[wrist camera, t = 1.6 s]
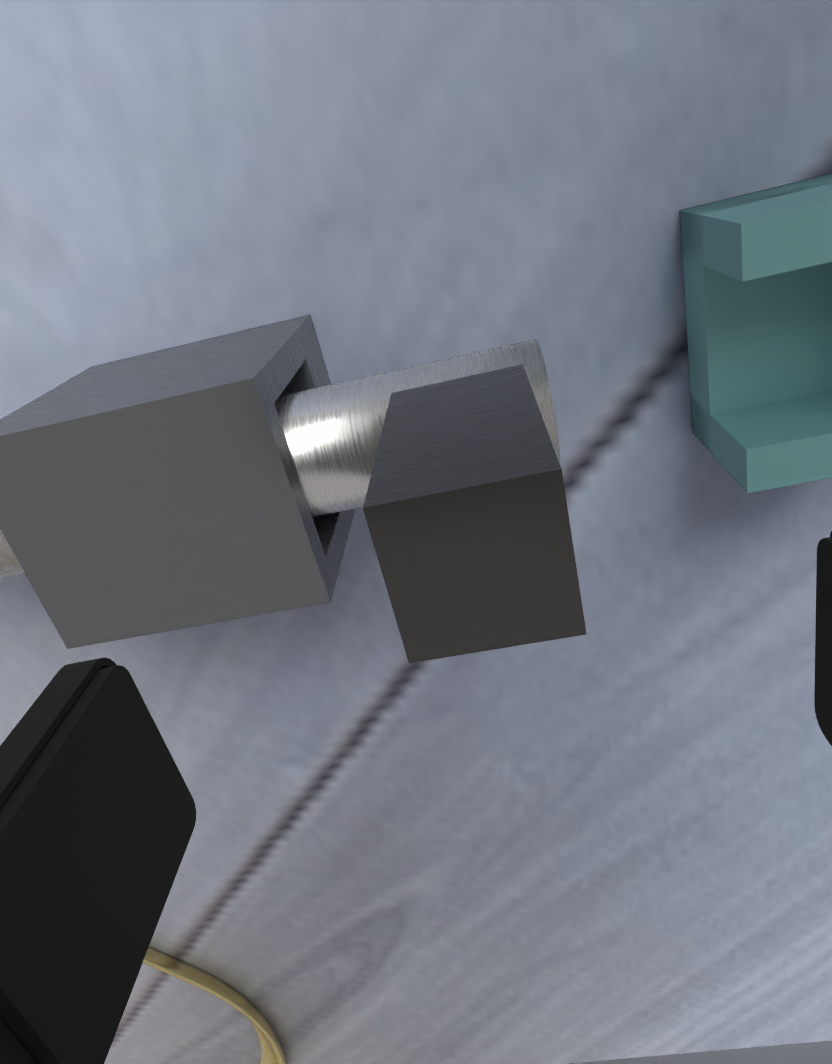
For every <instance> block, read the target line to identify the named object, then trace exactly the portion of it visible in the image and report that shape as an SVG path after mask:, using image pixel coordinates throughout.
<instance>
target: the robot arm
mask: <svg viewBox="0 0 832 1064" xmlns="http://www.w3.org/2000/svg"><path fill="white" fill-rule="evenodd" d="M815 713H816V717H817V720H818V723H819V726H820V728H821V730H822V732H823V734H824V736H825V737H826V739H827V740H828V742H829V743H830V745H831V746H832V531H831V534H830V537H829V538H823V539H821V540H820V541H819V544H818V547H817V582H816V644H815ZM195 821H196V808H195V803H194V800H193V798H192V796H191V794H190V792H189V790H188V788H187V786H186V784H185V782H184V780H183V778H182V776H181V774H180V772H179V770H178V768H177V766H176V764H175V762H174V760H173V758H172V756H171V754H170V752H169V750H168V748H167V746H166V744H165V742H164V740H163V738H162V736H161V734H160V732H159V730H158V728H157V726H156V724H155V722H154V720H153V719H152V717H151V715H150V713H149V711H148V709H147V707H146V705H145V703H144V701H143V699H142V697H141V695H140V693H139V691H138V689H137V687H136V685H135V683H134V681H133V679H132V677H131V675H130V673H129V672H128V670H127V669H126V668H125V667H123V666H119V665H118V666H117V665H116V664H115V662H113V661H112V660H111V659H108V658H100V659H95V660H89V661H84V662H78V663H73V664H68V665H65V666H64V667H62V668H61V669H60V670H59V671H58V673H57V674H56V675H55V677H54V678H53V679H52V680H51V682H50V683H49V684H48V686H47V687H46V688H45V689H44V691H43V692H42V693H41V694H40V696H39V697H38V698H37V700H36V701H35V702H34V703H33V705H32V706H31V707H30V709H29V710H28V711H27V712H26V714H25V715H24V716H23V718H22V719H21V720H20V721H19V723H18V724H17V725H16V727H15V728H14V729H13V730H12V732H11V733H10V734H9V736H8V737H7V738H6V739H5V741H4V742H3V743H2V745H1V746H0V1064H104V1062H105V1060H106V1057H107V1054H108V1052H109V1049H110V1046H111V1044H112V1041H113V1039H114V1036H115V1033H116V1031H117V1028H118V1026H119V1023H120V1020H121V1018H122V1015H123V1012H124V1010H125V1007H126V1005H127V1002H128V999H129V997H130V994H131V991H132V989H133V986H134V984H135V981H136V978H137V976H138V973H139V971H140V968H141V965H142V963H143V960H144V957H145V955H146V952H147V950H148V947H149V944H150V942H151V939H152V937H153V934H154V931H155V929H156V926H157V923H158V921H159V918H160V916H161V913H162V910H163V908H164V905H165V902H166V900H167V897H168V895H169V892H170V889H171V887H172V884H173V882H174V879H175V876H176V874H177V871H178V868H179V866H180V863H181V861H182V858H183V855H184V853H185V850H186V848H187V845H188V842H189V840H190V837H191V834H192V832H193V829H194V826H195ZM570 1064H832V1041H822V1042H811V1043H799V1044H788V1045H776V1046H765V1047H753V1048H742V1049H730V1050H719V1051H707V1052H696V1053H684V1054H673V1055H661V1056H650V1057H638V1058H627V1059H615V1060H604V1061H593V1062H581V1063H570Z"/></svg>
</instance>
